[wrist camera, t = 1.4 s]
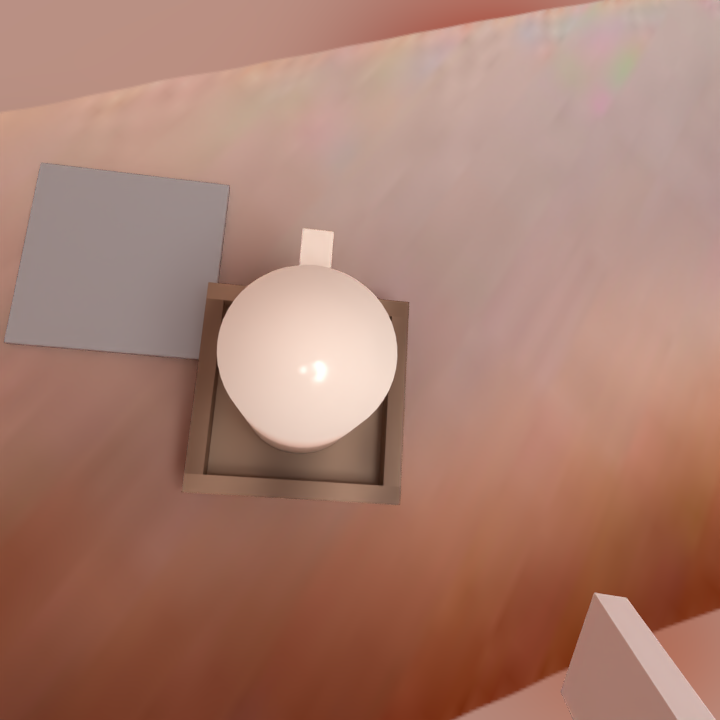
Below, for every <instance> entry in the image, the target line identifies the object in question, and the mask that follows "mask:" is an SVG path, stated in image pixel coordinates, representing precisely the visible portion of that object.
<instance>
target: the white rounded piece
mask: <svg viewBox="0 0 720 720" xmlns="http://www.w3.org/2000/svg"><path fill="white" fill-rule="evenodd" d="M333 237H334V232H332V231H324V230H315V229H306V228H303V231H302V242H301V252H300V263H299V265H295V266H289V267H284V268H281V269H278V270H275V271H272V272H269V273H267V274H265V275H263V276H261V277H260V278H258V279H257V280H255V281H254V282H252V283H251V284H250V285H248V286H247V287H246V288H245V289H244V290H243V291H242V292H241V293H240V294H239V295H238V296H237V297H236V298H235V300H234V301H233V303H232V304H231V306H230V307H229V309H228V311H227V313H226V315H225V317H224V319H223V321H222V324H221V327H220V330H219V336H218V341H217V362H218V368H219V372H220V377H221V379H222V382H223V385H224V387H225V389H226V391H227V393H228V395H229V396H230V398H231V400H232V401H233V402H234V404H235V405H236V407H237V408H238V409H239V411H240V412H241V413H242V415H243V416H244V418H245V419H246V420H247V422H248V423H249V425H250V426H251V427H252V429H253V430H254V431H255V433H256V434H257V435H258V436H259V437H260V438H261V439H262V440H263V441H265V442H266V443H267V444H269V445H270V446H272V447H274V448H276V449H278V450H281V451H284V452H288V453H294V454H308V453H314V452H318V451H321V450H323V449H326V448H328V447H329V446H331V445H333V444H334V443H336V442H337V441H338V440H340V439H341V438H342V437H344V436H345V435H346V434H348V433H349V432H350V431H351V430H353V429H354V428H355V427H357V426H358V425H359V424H361V423H362V422H363V421H365V420H366V419H367V418H368V417H369V416H370V415H371V414H372V413H373V412H374V411H375V410H376V409H377V408H378V407H379V405H380V404H381V403H382V401H383V400H384V398H385V396H386V395H387V393H388V391H389V389H390V387H391V384H392V382H393V379H394V375H395V371H396V365H397V342H396V335H395V332H394V328H393V325H392V322H391V320H390V318H389V315H388V313H387V312H386V310H385V308H384V307H383V305H382V303H381V302H380V301H379V300H378V298H377V297H376V296H375V295H374V294H373V293H372V292H371V291H370V290H369V289H368V288H367V287H366V286H365V285H363V284H362V283H361V282H359V281H358V280H356V279H355V278H353V277H351V276H350V275H348V274H345V273H343V272H341V271H338V270H335V269H332V268H331V262H332V250H333Z"/></svg>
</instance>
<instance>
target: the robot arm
mask: <svg viewBox="0 0 720 720" xmlns="http://www.w3.org/2000/svg"><path fill="white" fill-rule="evenodd" d="M561 694H562V696H563V698H564V701H565V703H566V705H567V707H568V709H569V712H570V714H571V716H572V718H573V720H715V718H714V717H713V715H712V714H711V713H710V711H709V710H708V708H707V707H706V706H705V704H704V703H703V702H702V700H701V699H700V698H699V696H698V695H697V693H696V692H695V691H694V689H693V688H692V687H691V685H690V684H689V682H688V681H687V680H686V679H685V677H684V676H683V674H682V673H681V672H680V670H679V669H678V667H677V666H676V665H675V663H674V662H673V661H672V659H671V658H670V657H669V655H668V654H667V653H666V651H665V650H664V648H663V647H662V646H661V644H660V643H659V641H658V640H657V639H656V637H655V636H654V635H653V633H652V632H651V631H650V629H649V628H648V626H647V625H646V624H645V622H644V621H643V620H642V618H641V617H640V615H639V614H638V613H637V611H636V610H635V609H634V607H633V606H632V605H631V603H630V602H629V600H628V599H627V598H624V597H618V596H612V595H605V594H599V593H594V595H593V598H592V601H591V604H590V607H589V610H588V613H587V616H586V618H585V621H584V624H583V627H582V630H581V633H580V636H579V639H578V642H577V645H576V648H575V651H574V654H573V657H572V660H571V663H570V666H569V668H568V671H567V674H566V677H565V681H564V683H563V686H562V689H561Z"/></svg>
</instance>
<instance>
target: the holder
mask: <svg viewBox="0 0 720 720" xmlns="http://www.w3.org/2000/svg"><path fill="white" fill-rule="evenodd" d="M246 287H247V286H243V285H233V284H223V283H213V282H208V289H207V297H206V305H205V312H204V320H203V328H202V336H201V344H200V352H199V360H198V367H197V375H196V383H195V391H194V399H193V407H192V414H191V422H190V430H189V438H188V446H187V454H186V462H185V469H184V477H183V485H182V492H186V493H203V494H221V495H238V496H255V497H272V498H289V499H306V500H323V501H340V502H357V503H374V504H391V505H400V494H401V471H402V449H403V427H404V404H405V382H406V360H407V338H408V315H409V302H402V301H392V300H382V299H378V300H379V301H380V302H381V303H382V305H383V307H384V308H385V310H386V312H387V313H388V315H389V318H390V320H391V322H392V325H393V328H394V332H395V335H396V342H397V365H396V371H395V375H394V379H393V382H392V384H391V387H390V389H389V391H388V393H387V395H386V396H385V398H384V400H383V401H382V403H381V404H380V405H379V407H378V408H377V409H376V410H375V411H374V412H373V413H372V414H371V415H370V416H369V417H368V418H367V419H366V420H365V421H363V422H362V423H361V424H359V425H358V426H357V427H355V428H354V429H353V430H351V431H350V432H349V433H348V434H346V435H345V436H344V437H342V438H341V439H340V440H338V441H337V442H336V443H334V444H333V445H331V446H329V447H328V448H326V449H323V450H321V451H318V452H314V453H308V454H294V453H288V452H284V451H281V450H278V449H276V448H274V447H272V446H270V445H269V444H267V443H266V442H265V441H263V440H262V439H261V438H260V437H259V436H258V435H257V434H256V433H255V431H254V430H253V429H252V427H251V426H250V425H249V423H248V422H247V420H246V419H245V418H244V416H243V415H242V413H241V412H240V411H239V409H238V408H237V407H236V405H235V404H234V402H233V401H232V400H231V398H230V396H229V395H228V393H227V391H226V389H225V387H224V385H223V382H222V379H221V377H220V372H219V368H218V362H217V341H218V336H219V330H220V327H221V324H222V321H223V319H224V317H225V315H226V313H227V311H228V309H229V307H230V306H231V304H232V303H233V301H234V300H235V298H236V297H237V296H238V295H239V294H240V293H241V292H242V291H243V290H244V289H245V288H246Z"/></svg>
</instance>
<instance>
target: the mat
mask: <svg viewBox="0 0 720 720" xmlns="http://www.w3.org/2000/svg"><path fill="white" fill-rule="evenodd" d="M229 191H230V187H229V185H223V184H215V183H207V182H198V181H190V180H182V179H173V178H165V177H157V176H148V175H140V174H132V173H123V172H115V171H107V170H98V169H90V168H82V167H73V166H65V165H57V164H48V163H41V164H40V169H39V174H38V179H37V184H36V189H35V193H34V198H33V203H32V208H31V213H30V218H29V223H28V227H27V232H26V237H25V242H24V247H23V252H22V257H21V261H20V266H19V271H18V276H17V281H16V286H15V291H14V295H13V300H12V305H11V310H10V315H9V320H8V325H7V329H6V334H5V339H4V342H5V343H7V344H18V345H30V346H41V347H53V348H65V349H77V350H88V351H100V352H112V353H124V354H136V355H147V356H159V357H171V358H183V359H194V360H199V352H200V344H201V336H202V328H203V320H204V312H205V305H206V297H207V289H208V282H213V283H218V280H219V272H220V264H221V256H222V248H223V240H224V232H225V224H226V215H227V207H228V199H229Z"/></svg>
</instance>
